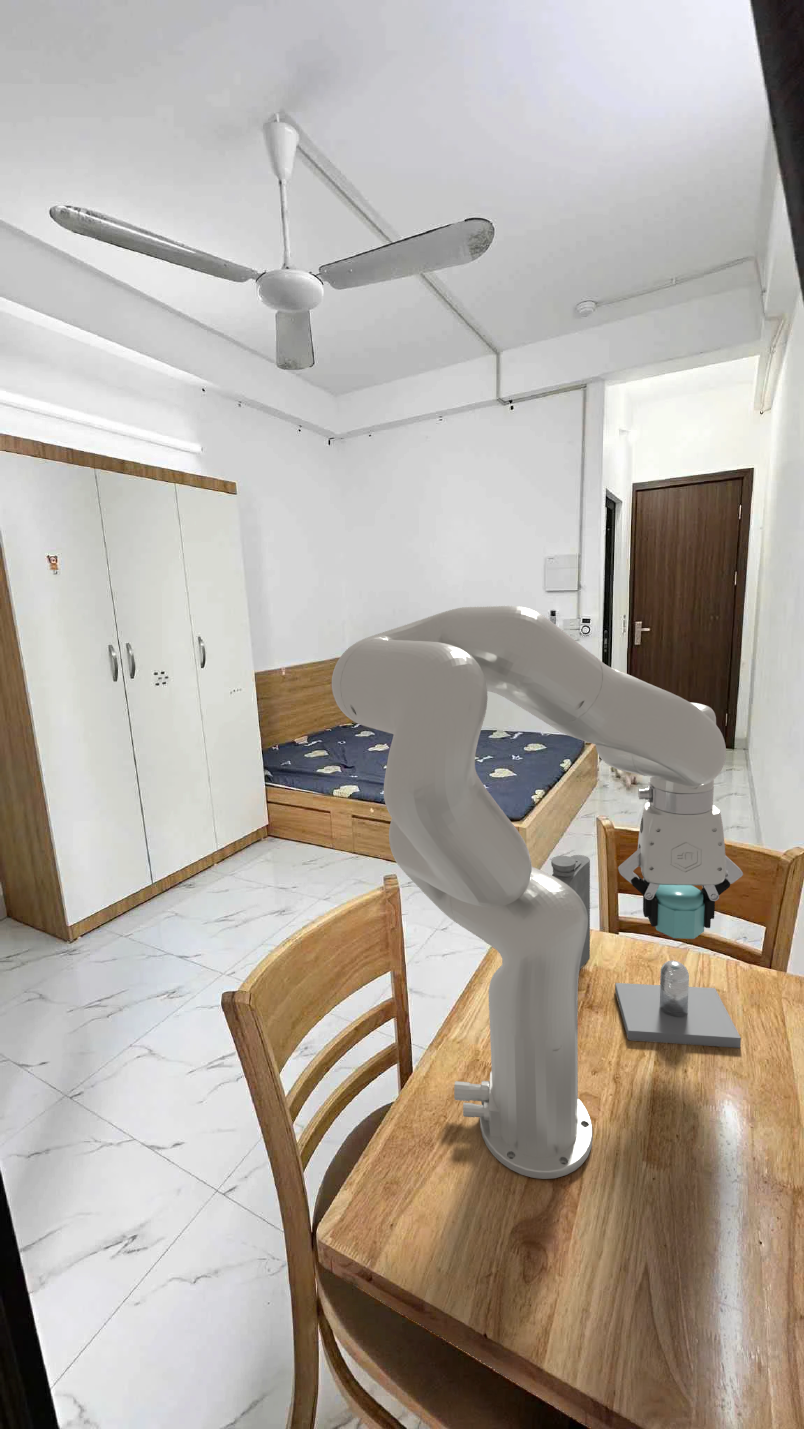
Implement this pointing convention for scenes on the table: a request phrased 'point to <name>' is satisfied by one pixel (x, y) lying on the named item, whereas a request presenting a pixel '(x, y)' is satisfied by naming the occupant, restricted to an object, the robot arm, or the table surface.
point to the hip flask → (576, 886)
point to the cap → (680, 911)
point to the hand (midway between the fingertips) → (677, 920)
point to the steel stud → (674, 989)
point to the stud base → (696, 1028)
